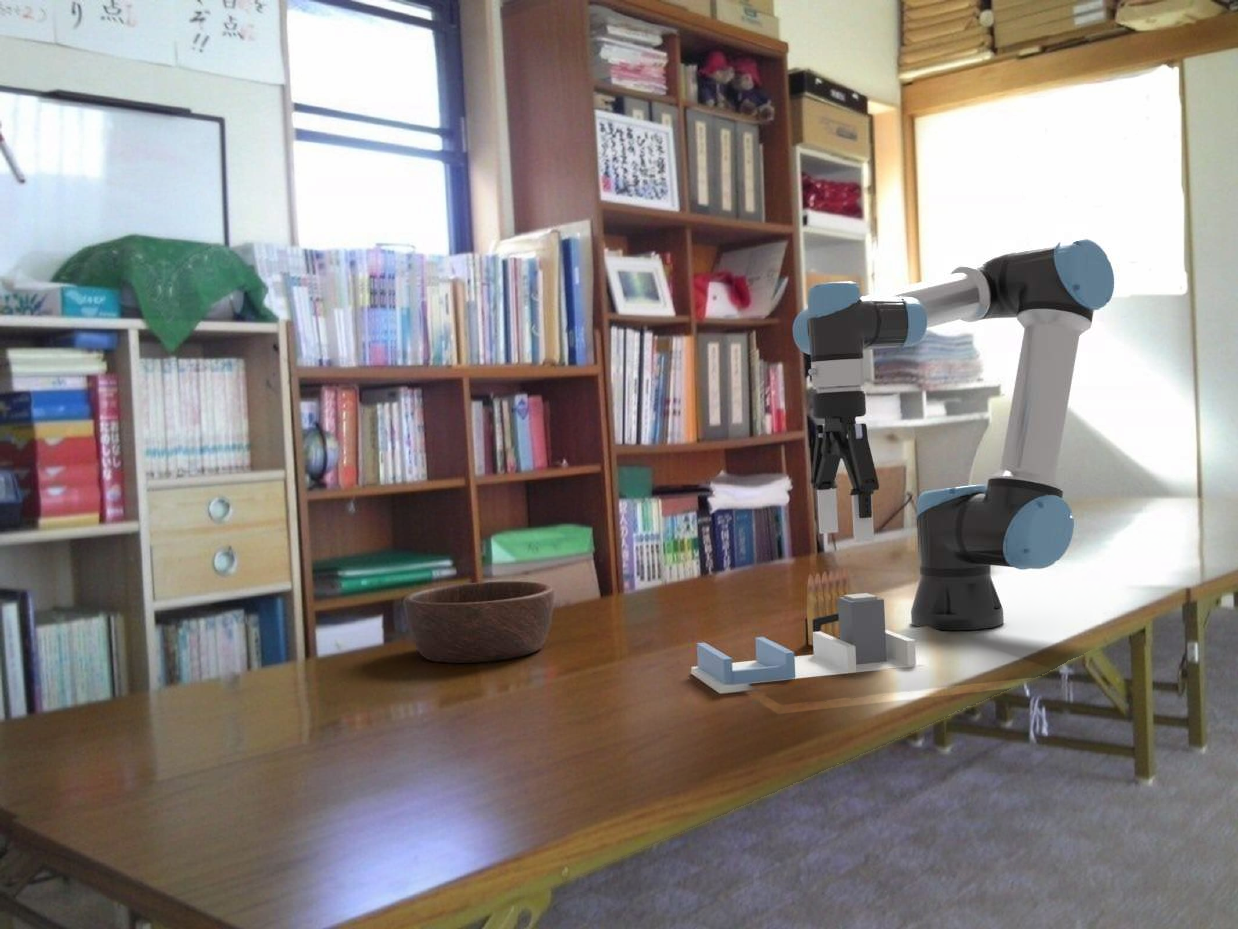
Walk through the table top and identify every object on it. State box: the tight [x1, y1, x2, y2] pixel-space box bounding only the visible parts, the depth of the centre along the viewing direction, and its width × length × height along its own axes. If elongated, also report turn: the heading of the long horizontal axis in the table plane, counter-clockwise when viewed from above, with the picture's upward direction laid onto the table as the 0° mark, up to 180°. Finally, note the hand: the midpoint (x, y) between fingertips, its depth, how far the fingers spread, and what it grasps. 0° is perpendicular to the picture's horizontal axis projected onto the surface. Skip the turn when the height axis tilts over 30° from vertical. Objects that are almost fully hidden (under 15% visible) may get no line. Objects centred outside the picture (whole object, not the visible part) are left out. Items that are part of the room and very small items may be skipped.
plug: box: [838, 592, 887, 665], centre depth 181 cm, size 5×5×9 cm
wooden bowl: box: [403, 580, 555, 664], centre depth 209 cm, size 25×25×10 cm
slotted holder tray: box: [690, 628, 923, 694], centre depth 180 cm, size 30×14×4 cm, turn 103°
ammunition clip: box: [804, 567, 852, 646], centre depth 198 cm, size 11×2×12 cm, turn 132°
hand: (845, 537), depth 181 cm, fingers open, 13 cm apart
